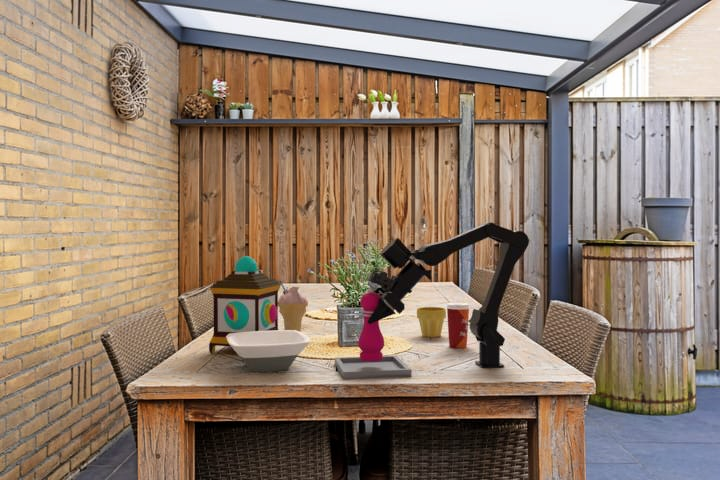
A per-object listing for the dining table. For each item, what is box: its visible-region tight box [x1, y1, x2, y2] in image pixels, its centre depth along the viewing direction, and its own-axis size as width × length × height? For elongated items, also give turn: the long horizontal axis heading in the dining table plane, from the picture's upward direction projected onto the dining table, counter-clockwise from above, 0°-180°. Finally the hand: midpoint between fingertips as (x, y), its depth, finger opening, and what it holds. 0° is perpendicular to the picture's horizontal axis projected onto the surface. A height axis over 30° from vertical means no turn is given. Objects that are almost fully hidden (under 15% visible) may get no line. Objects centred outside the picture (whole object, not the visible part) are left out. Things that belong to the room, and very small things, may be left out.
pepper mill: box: [357, 286, 385, 362], centre depth 174 cm, size 7×7×20 cm
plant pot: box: [416, 306, 447, 338], centre depth 227 cm, size 10×10×10 cm
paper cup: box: [445, 302, 471, 349], centre depth 207 cm, size 8×8×14 cm
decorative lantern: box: [208, 255, 282, 355], centre depth 200 cm, size 20×20×30 cm
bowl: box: [226, 329, 311, 373], centre depth 177 cm, size 22×23×8 cm
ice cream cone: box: [278, 280, 309, 332], centre depth 226 cm, size 11×11×20 cm
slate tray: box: [334, 355, 413, 380], centre depth 174 cm, size 18×18×2 cm
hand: (366, 321), depth 174 cm, fingers closed on pepper mill, 5 cm apart
